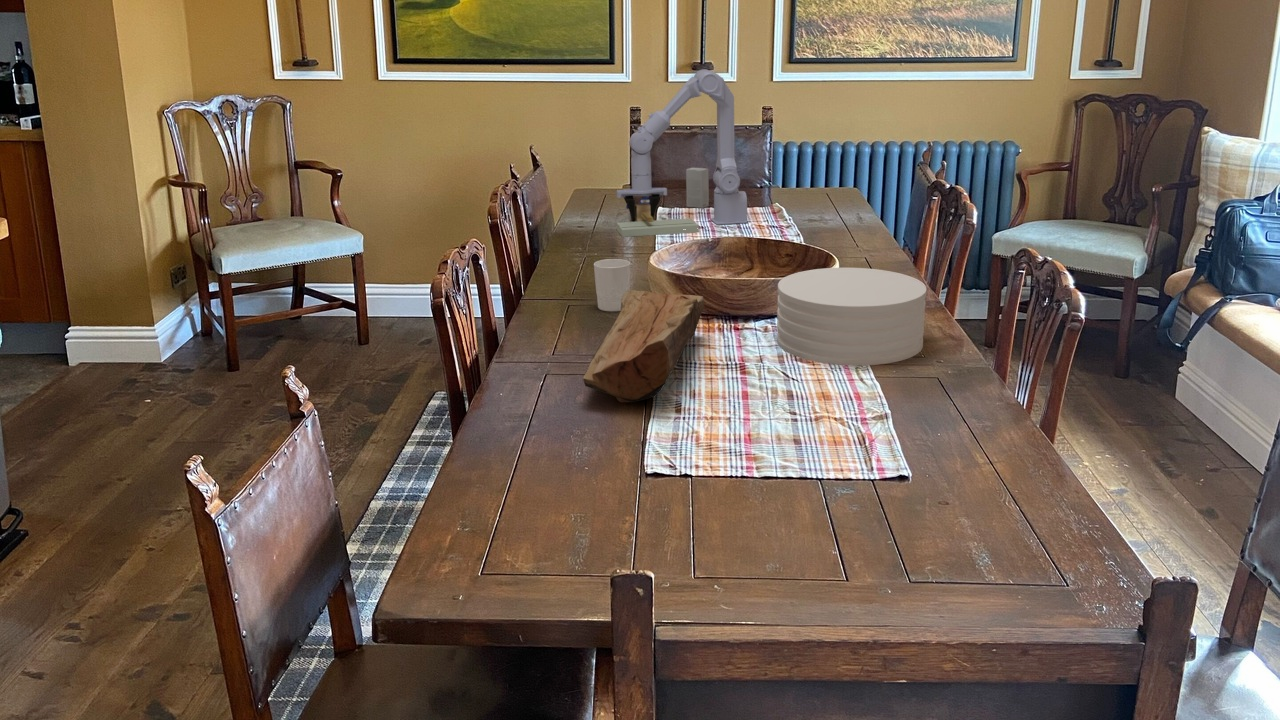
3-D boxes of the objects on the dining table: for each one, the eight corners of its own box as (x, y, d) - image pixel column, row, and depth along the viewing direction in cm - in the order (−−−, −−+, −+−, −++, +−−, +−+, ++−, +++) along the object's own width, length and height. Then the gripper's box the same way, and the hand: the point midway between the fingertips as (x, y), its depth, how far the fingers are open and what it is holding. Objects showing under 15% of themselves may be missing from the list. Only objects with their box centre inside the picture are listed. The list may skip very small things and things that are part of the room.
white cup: (618, 314, 231) (617, 269, 228) (588, 309, 235) (586, 265, 232) (638, 305, 237) (637, 261, 234) (608, 300, 241) (606, 257, 238)
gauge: (647, 224, 317) (647, 202, 315) (657, 233, 306) (657, 210, 304) (634, 225, 316) (633, 203, 314) (644, 234, 305) (643, 211, 303)
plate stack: (838, 313, 229) (840, 260, 225) (952, 342, 209) (956, 285, 205) (747, 342, 212) (747, 286, 208) (861, 377, 192) (864, 315, 188)
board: (691, 225, 315) (691, 218, 314) (698, 232, 306) (698, 224, 305) (616, 229, 312) (616, 222, 311) (622, 236, 302) (622, 229, 302)
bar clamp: (627, 196, 349) (657, 195, 349) (627, 203, 350) (657, 203, 349) (624, 220, 319) (658, 219, 319) (624, 228, 320) (658, 228, 319)
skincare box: (709, 206, 341) (709, 168, 337) (702, 208, 338) (702, 170, 334) (692, 204, 344) (692, 167, 340) (685, 207, 341) (685, 169, 337)
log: (664, 412, 176) (673, 322, 173) (561, 398, 179) (568, 309, 176) (705, 367, 217) (713, 294, 214) (621, 356, 220) (627, 284, 217)
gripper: (663, 170, 315) (664, 216, 319) (614, 173, 313) (615, 219, 317) (668, 174, 308) (668, 221, 313) (618, 177, 306) (619, 224, 311)
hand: (642, 220), depth 315 cm, fingers open, 5 cm apart
